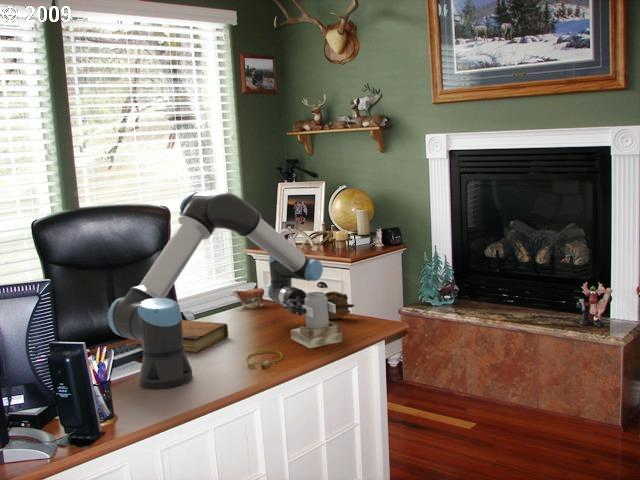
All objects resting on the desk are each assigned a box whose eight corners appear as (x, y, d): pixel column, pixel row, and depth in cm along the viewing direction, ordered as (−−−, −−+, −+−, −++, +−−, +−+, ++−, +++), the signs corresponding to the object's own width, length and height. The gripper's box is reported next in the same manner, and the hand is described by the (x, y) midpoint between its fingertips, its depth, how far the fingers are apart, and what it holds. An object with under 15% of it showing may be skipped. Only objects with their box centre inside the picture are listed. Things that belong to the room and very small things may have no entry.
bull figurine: (231, 307, 295) (230, 287, 294) (265, 304, 298) (263, 284, 296) (232, 310, 291) (230, 290, 290) (266, 306, 293) (264, 286, 292)
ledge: (309, 348, 235) (308, 331, 234) (291, 338, 247) (290, 322, 246) (342, 341, 240) (341, 325, 239) (322, 332, 252) (321, 316, 252)
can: (301, 329, 242) (299, 294, 240) (318, 324, 247) (316, 289, 245) (317, 333, 236) (314, 297, 234) (333, 328, 241) (331, 292, 239)
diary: (228, 339, 253) (227, 322, 252) (197, 355, 237) (195, 338, 236) (174, 333, 264) (173, 318, 263) (140, 349, 247) (139, 332, 246)
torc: (230, 367, 223) (230, 360, 222) (261, 352, 236) (261, 346, 236) (263, 372, 216) (262, 365, 216) (293, 356, 229) (292, 350, 229)
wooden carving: (310, 321, 268) (308, 294, 266) (311, 317, 272) (309, 291, 270) (355, 319, 266) (353, 293, 264) (355, 316, 270) (354, 290, 268)
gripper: (319, 303, 261) (351, 316, 241) (267, 313, 252) (295, 327, 232) (318, 283, 260) (350, 294, 240) (265, 292, 251) (294, 304, 231)
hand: (323, 310), depth 236 cm, fingers closed on can, 7 cm apart
